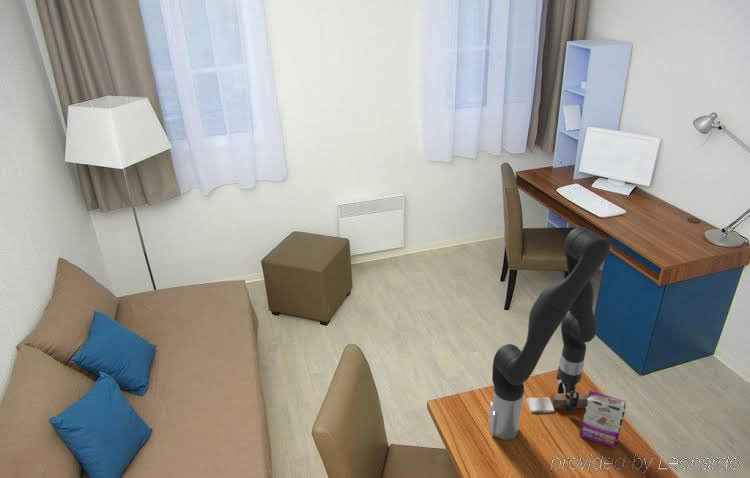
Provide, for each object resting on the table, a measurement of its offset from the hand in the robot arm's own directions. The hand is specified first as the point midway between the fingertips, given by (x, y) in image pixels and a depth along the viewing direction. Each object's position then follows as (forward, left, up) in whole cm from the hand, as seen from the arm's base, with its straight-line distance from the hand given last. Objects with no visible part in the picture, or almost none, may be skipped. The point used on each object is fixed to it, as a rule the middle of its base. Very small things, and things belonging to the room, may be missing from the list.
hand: (564, 401), depth 183 cm
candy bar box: (+7, -14, -2) cm, 16 cm away
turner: (-1, 0, -2) cm, 2 cm away
